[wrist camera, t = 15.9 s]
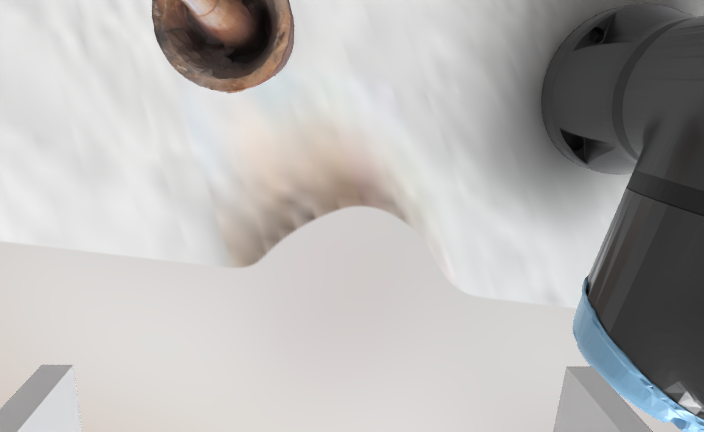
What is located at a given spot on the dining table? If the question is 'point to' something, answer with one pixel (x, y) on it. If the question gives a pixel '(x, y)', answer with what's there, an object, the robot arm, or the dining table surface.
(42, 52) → the dining table surface
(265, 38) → the mortar and pestle
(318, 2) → the dining table surface
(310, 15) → the dining table surface
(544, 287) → the dining table surface
